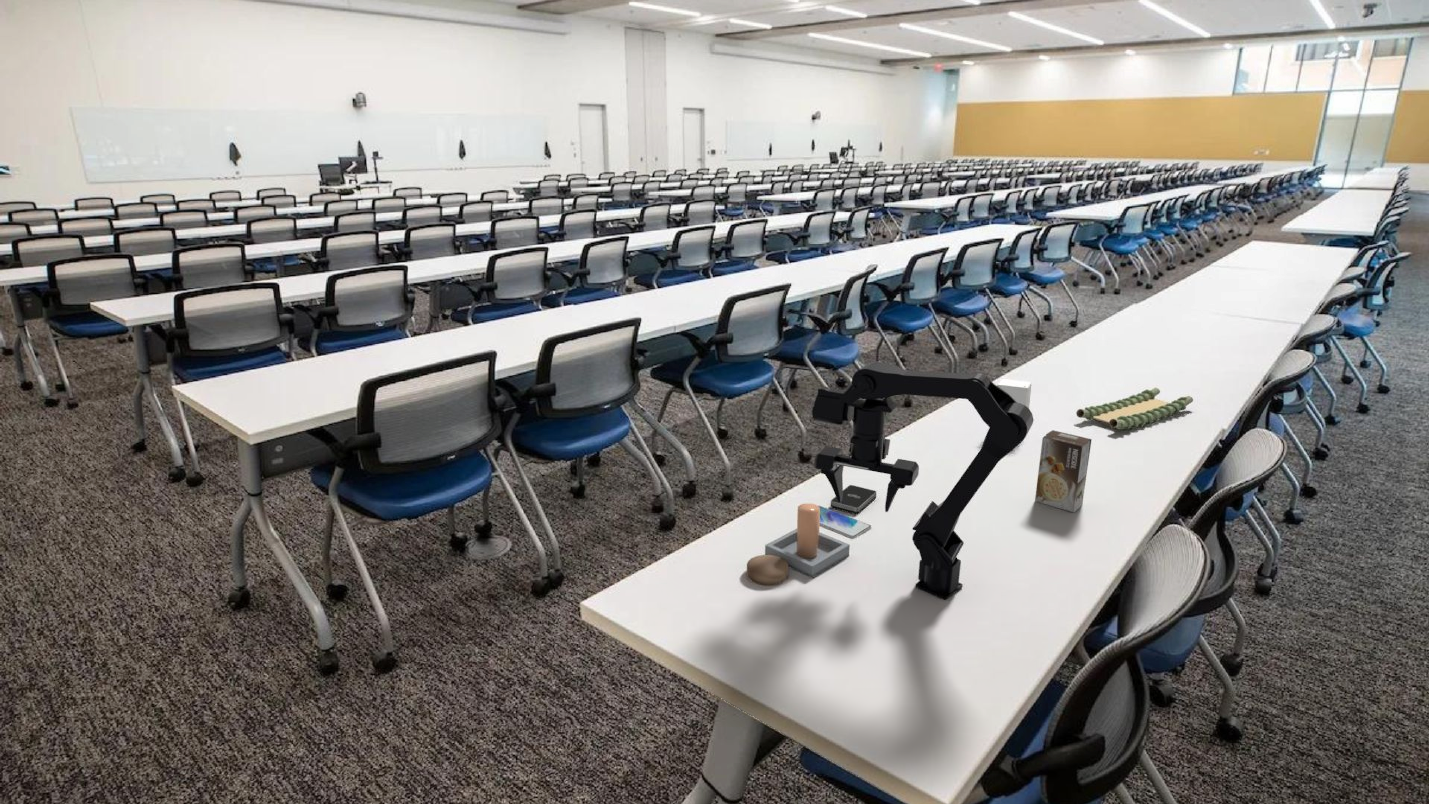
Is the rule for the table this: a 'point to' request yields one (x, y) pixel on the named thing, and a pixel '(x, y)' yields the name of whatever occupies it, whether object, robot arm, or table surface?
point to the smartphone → (842, 523)
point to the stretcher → (1135, 410)
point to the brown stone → (767, 570)
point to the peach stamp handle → (808, 530)
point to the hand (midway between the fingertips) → (863, 506)
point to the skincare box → (1017, 390)
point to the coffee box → (1062, 470)
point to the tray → (827, 557)
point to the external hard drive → (854, 499)
